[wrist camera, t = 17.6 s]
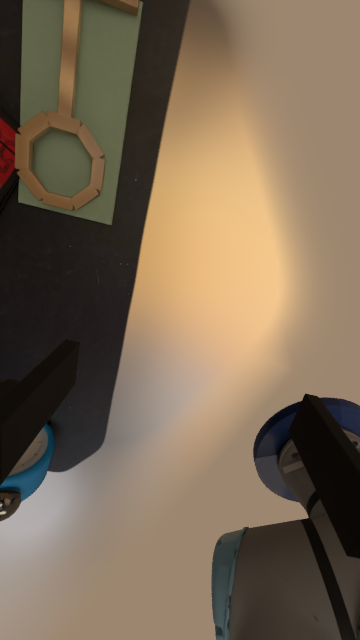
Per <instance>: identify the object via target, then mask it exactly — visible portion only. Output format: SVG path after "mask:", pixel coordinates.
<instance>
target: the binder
mask: <svg viewBox="0 0 360 640" xmlns="http://www.w3.org/2000/svg"><path fill="white" fill-rule="evenodd" d="M20 127H21V126H20V125H19V124H18V123H17V122H16V121H15V120H14V119H13V118H12V117H11V116H10V115H9V114H8V113H7V112H5V111H4V110H3V109H2V108H1V107H0V210H1V209H2V207H3V205H4V204H5V202H6V200H7V199H8V197H9V195H10V194H11V192H12V190H13V189H14V187H15V185H16V183H17V182H18V180H19V178H20V177H19V175H18V174H17V172H18V171H20V169H16V168H15V134H20V132H19V131H18V128H20ZM20 135H21V134H20ZM33 150H34V147H33Z"/></svg>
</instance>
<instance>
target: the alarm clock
mask: <svg viewBox="0 0 360 640" xmlns="http://www.w3.org/2000/svg"><path fill="white" fill-rule="evenodd" d="M49 424H51V422H47V423H46V424H45V426H44V427H43V428H42V430H41V431H40V432H39V434H38V435H37V437H36V438H35V439H34V441H33V442H32V443H31V445H30V446H29V448H28V449H27V450H26V452H25V453H24V454H23V456H22V457H21V458H20V460H19V461H18V463H17V464H16V465H15V467H14V468H13V469H12V471H11V472H10V473H9V475H8V476H7V478H6V479H5V480H4V482H3V483H2V484H1V486H0V521H3V520H5V519H7V518H9V517H10V516H11V515H12V514H14V513H15V511H16V510H17V509H18V507H19V505H20V503H21V502H22V501H23V500H25V499H26V498H27V497H29V496H30V495H31V494H33V493H34V492H35V490H37V488H38V487H39V486H40V485H41V483H42V481H43V480H44V478H45V476H46V474H47V471H48V467H49V464H50V460H51V457H52V454H53V450H54V445H55V439H54V434H53V431H52V429H51V428H50V426H49Z"/></svg>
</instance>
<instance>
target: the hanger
mask: <svg viewBox="0 0 360 640" xmlns="http://www.w3.org/2000/svg"><path fill="white" fill-rule="evenodd" d="M100 1H102V2H104V3H107V4H109V5H112V6H114V7H116V8H119V9H121V10H123V11H126V12H128V13H130V14H133V15H135V16H138V11H139V3H140V0H100ZM82 8H83V0H64V15H63V31H62V47H61V63H60V79H59V95H58V110H57V113H56V112H53V111H50V110H47V114H46V113H45V112H44V111H41V112H40V113H38V114H37V115H36V116H34V117H33V118H32V119H30V120H29V121H28V122H26V123H25V124H24V125H22V126H21V127H20V128H18V131H19V132H20V134H21V135H20V134H15V168H16V169H20V171H18V172H17V174H18V175H19V177H20V178H21V179H22V181H23V182H24V183H25V184H26V186H27V187H28V188H29V189H30V191H31V192H32V193H33V195H34V196H35V197H36V198H37V200H38V201H42V200H43V202H42V203H43V204H46V205H51V206H55V207H59V208H63V209H67V210H75V209H76V210H78V209H80V208H82V207H83V206H84V205H86V204H87V203H89V202H90V201H92V200H93V199H95V198H96V197H97V196H99V195H100V193H99V191H98V190H100V191H102V190H103V182H104V174H105V166H106V160H105V159H103V157H105V155H104V153H103V152H102V150H101V149H100V147H99V145H98V144H97V142H96V141H95V139H94V137H93V136H92V134H91V133H90V131H89V129H88V128H87V126H86V125H85V124H83V123H82V122H81V120H78V119H75V118H74V106H75V94H76V82H77V69H78V57H79V45H80V33H81V20H82ZM51 129H56V130H59V131H62V132H66V133H69V134H72V135H75V136H78V137H79V139H80V140H81V142H82V144H83V145H84V147H85V148H86V150H87V151H88V153H89V154H90V156H91V157H92V167H91V177H90V185H88V186H87V187H86V188H84V189H83V190H81V191H80V192H78V193H77V194H76V195H74V196H73V197H68V196H64V195H60V194H56V193H52V192H49V191H48V190H47V188H46V187H45V186H44V184H43V183H42V182H41V181H40V179H39V178H38V177H37V175H36V174H35V173H34V171H33V170H32V163H33V143H34V142H35V141H36V140H38V139H39V138H40V137H42V136H43V135H45V134H46V133H47V132H49V131H50V130H51Z"/></svg>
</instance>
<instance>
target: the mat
mask: <svg viewBox="0 0 360 640" xmlns="http://www.w3.org/2000/svg"><path fill="white" fill-rule="evenodd" d="M142 8H143V2H142V1H140V3H139V11H138V16H135V15H133V14H130V13H128V12H126V11H123V10H121V9H119V8H116V7H114V6H112V5H109V4H107V3H104V2H102V1H100V0H83V8H82V20H81V33H80V45H79V57H78V69H77V82H76V94H75V106H74V118H75V119H78V120H81V122H82V123H83V124H85V125H86V126H87V128H88V129H89V131H90V133H91V134H92V136H93V137H94V139H95V141H96V142H97V144H98V145H99V147H100V149H101V150H102V152H103V153H104V155H105V157H103V159H105V160H106V166H105V174H104V182H103V190H102V191H100V190H98V191H99V193H100V195H99V196H97V197H96V198H95V199H93V200H92V201H90V202H89V203H87V204H86V205H84V206H83V207H82V208H80V209H78V210H76V209H75V210H67V209H63V208H59V207H55V206H51V205H46V204H43V203H42V202H43V200H42V201H38V200H37V198H36V197H35V196H34V195H33V193H32V192H31V191H30V189H29V188H28V187H27V186H26V184H25V183H24V182H23V181H22V179H21V178H19V195H18V202H20V203H24V204H28V205H32V206H36V207H40V208H44V209H48V210H52V211H56V212H60V213H64V214H68V215H72V216H76V217H80V218H84V219H88V220H92V221H96V222H100V223H104V224H108V225H112V222H113V215H114V208H115V200H116V193H117V186H118V179H119V172H120V165H121V158H122V150H123V143H124V136H125V129H126V122H127V115H128V108H129V100H130V93H131V86H132V79H133V72H134V65H135V58H136V50H137V43H138V36H139V29H140V22H141V15H142ZM63 15H64V0H23V20H22V64H21V107H20V126H22V125H24V124H25V123H26V122H28V121H29V120H30V119H32V118H33V117H34V116H36V115H37V114H38V113H40V112H41V111H44V112H45V113H46V114H47V110H50V111H53V112H56V113H57V110H58V95H59V79H60V63H61V47H62V31H63ZM33 147H34V150H33V163H32V170H33V171H34V173H35V174H36V175H37V177H38V178H39V179H40V181H41V182H42V183H43V184H44V186H45V187H46V188H47V190H48V191H49V192H52V193H56V194H60V195H64V196H68V197H73V196H74V195H76V194H77V193H78V192H80V191H81V190H83V189H84V188H86V187H87V186H88V185H90V177H91V167H92V157H91V156H90V154H89V153H88V151H87V150H86V148H85V147H84V145H83V144H82V142H81V140H80V139H79V137H78V136H75V135H72V134H69V133H66V132H62V131H59V130H56V129H51V130H50V131H49V132H47V133H46V134H45V135H43V136H42V137H40V138H39V139H38V140H36V141H35V142H34V143H33Z"/></svg>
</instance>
